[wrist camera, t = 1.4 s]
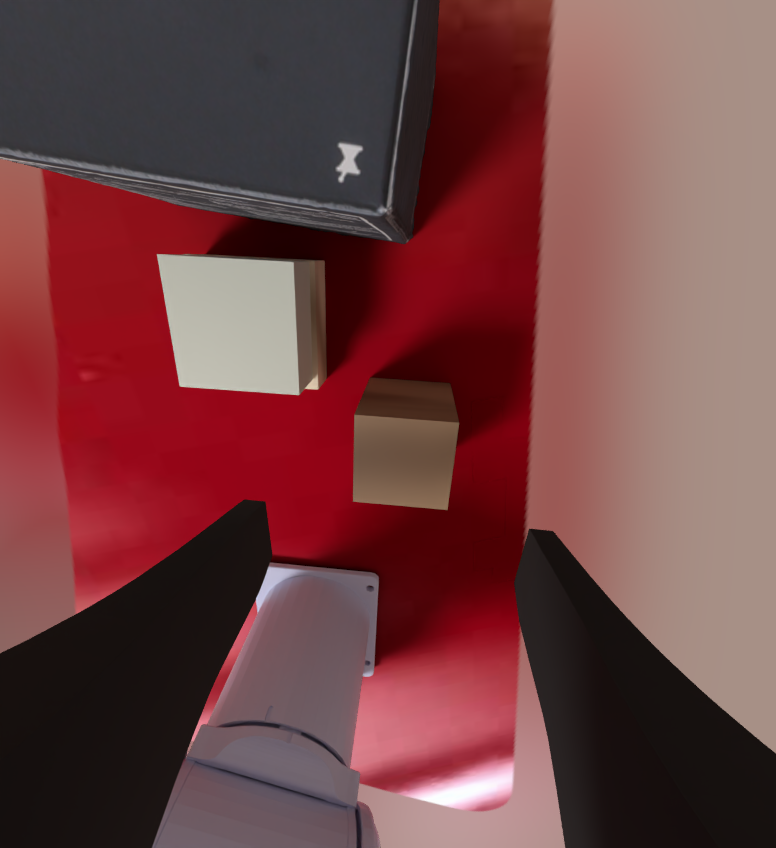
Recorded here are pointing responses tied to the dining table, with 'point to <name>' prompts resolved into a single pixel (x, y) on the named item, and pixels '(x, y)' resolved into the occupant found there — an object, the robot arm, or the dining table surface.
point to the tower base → (312, 317)
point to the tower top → (239, 322)
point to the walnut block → (405, 443)
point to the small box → (229, 103)
